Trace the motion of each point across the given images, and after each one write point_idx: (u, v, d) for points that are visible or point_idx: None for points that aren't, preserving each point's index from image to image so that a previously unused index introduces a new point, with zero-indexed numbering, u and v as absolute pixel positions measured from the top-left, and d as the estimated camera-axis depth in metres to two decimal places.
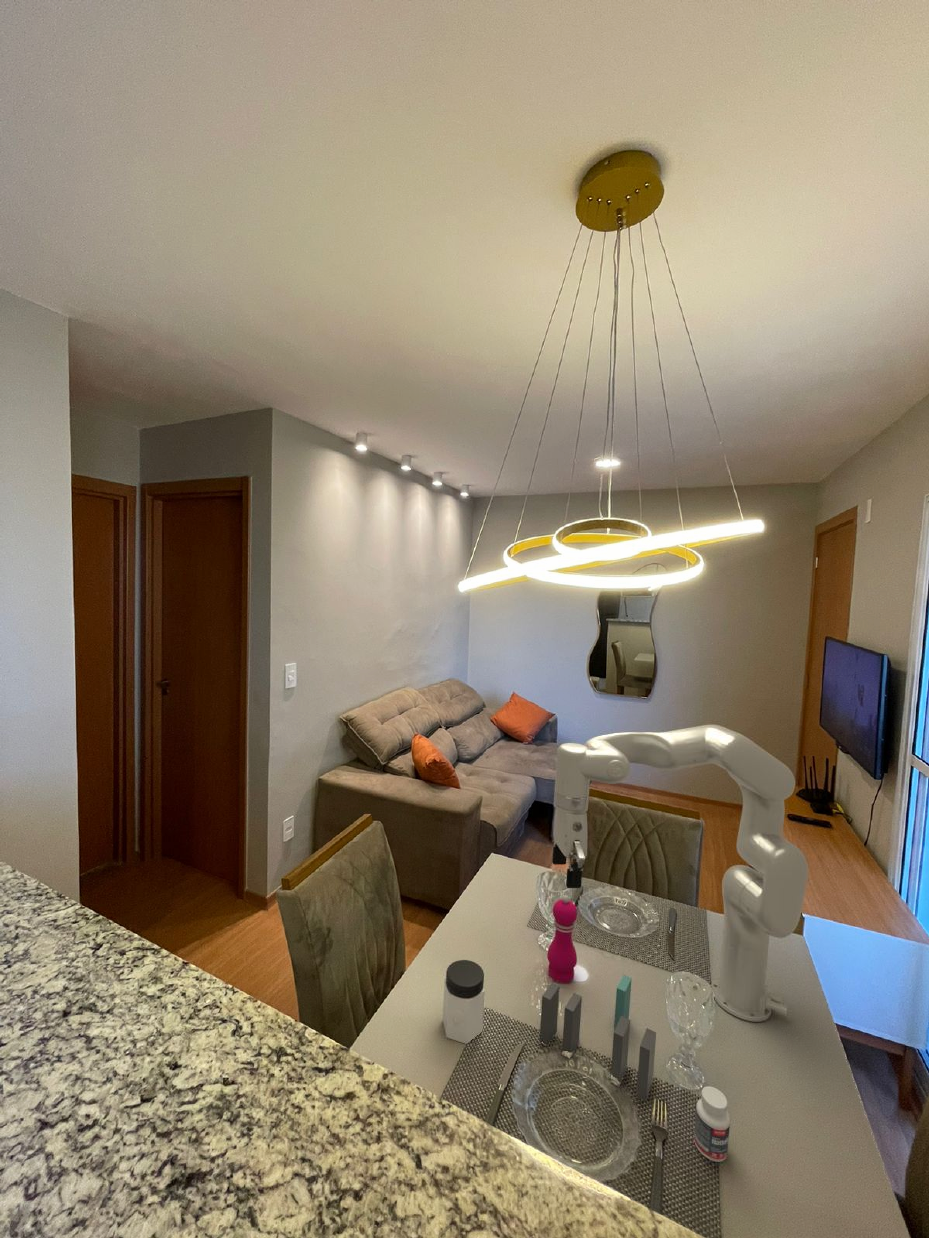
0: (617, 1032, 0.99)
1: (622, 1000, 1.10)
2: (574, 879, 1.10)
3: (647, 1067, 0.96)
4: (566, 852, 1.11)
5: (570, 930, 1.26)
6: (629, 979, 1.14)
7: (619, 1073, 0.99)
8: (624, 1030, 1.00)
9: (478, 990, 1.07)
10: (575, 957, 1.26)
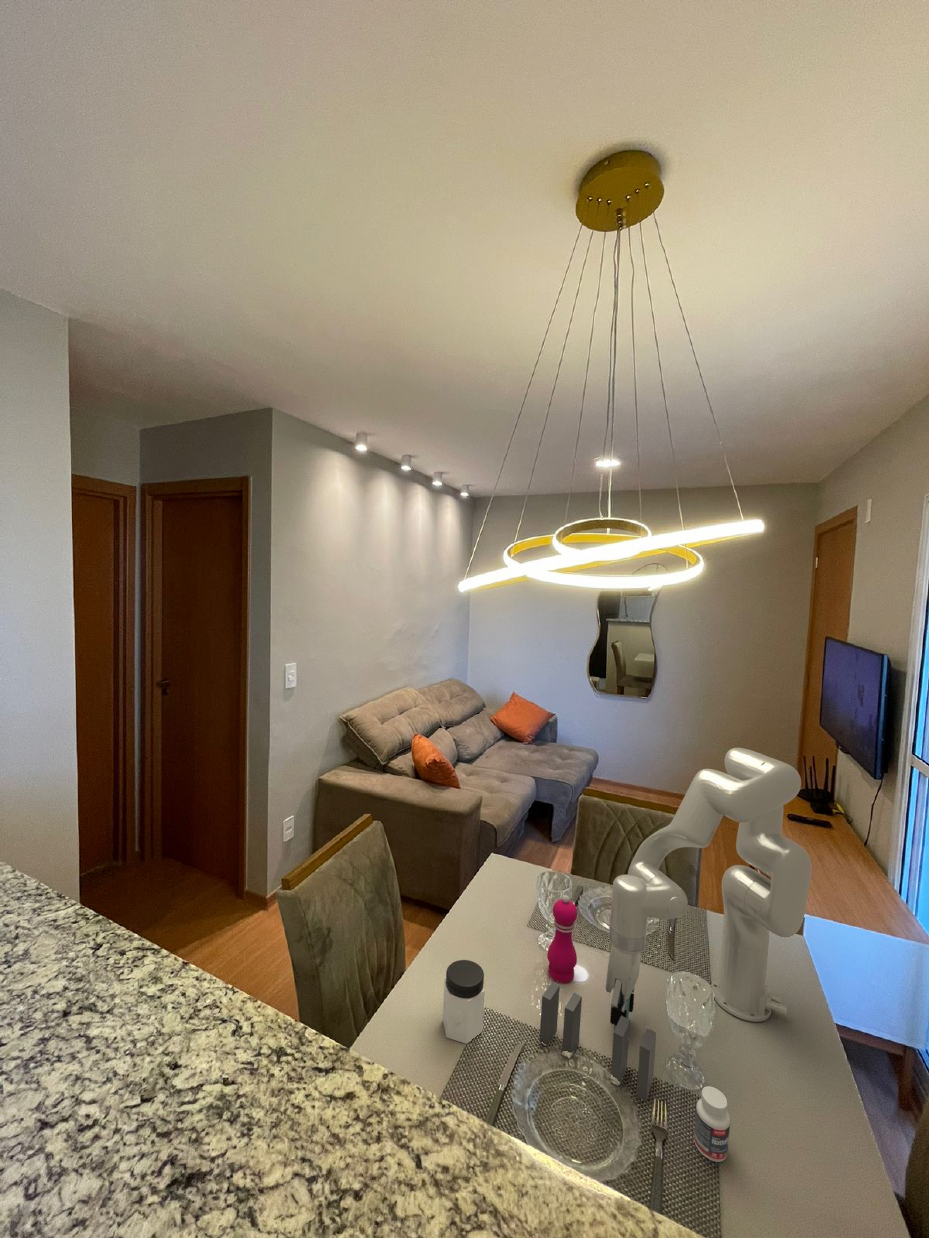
0: (617, 1032, 0.99)
1: (622, 1000, 1.10)
2: None
3: (647, 1067, 0.96)
4: (638, 970, 1.15)
5: (570, 930, 1.26)
6: None
7: (619, 1073, 0.99)
8: (624, 1030, 1.00)
9: (478, 990, 1.07)
10: (575, 957, 1.26)
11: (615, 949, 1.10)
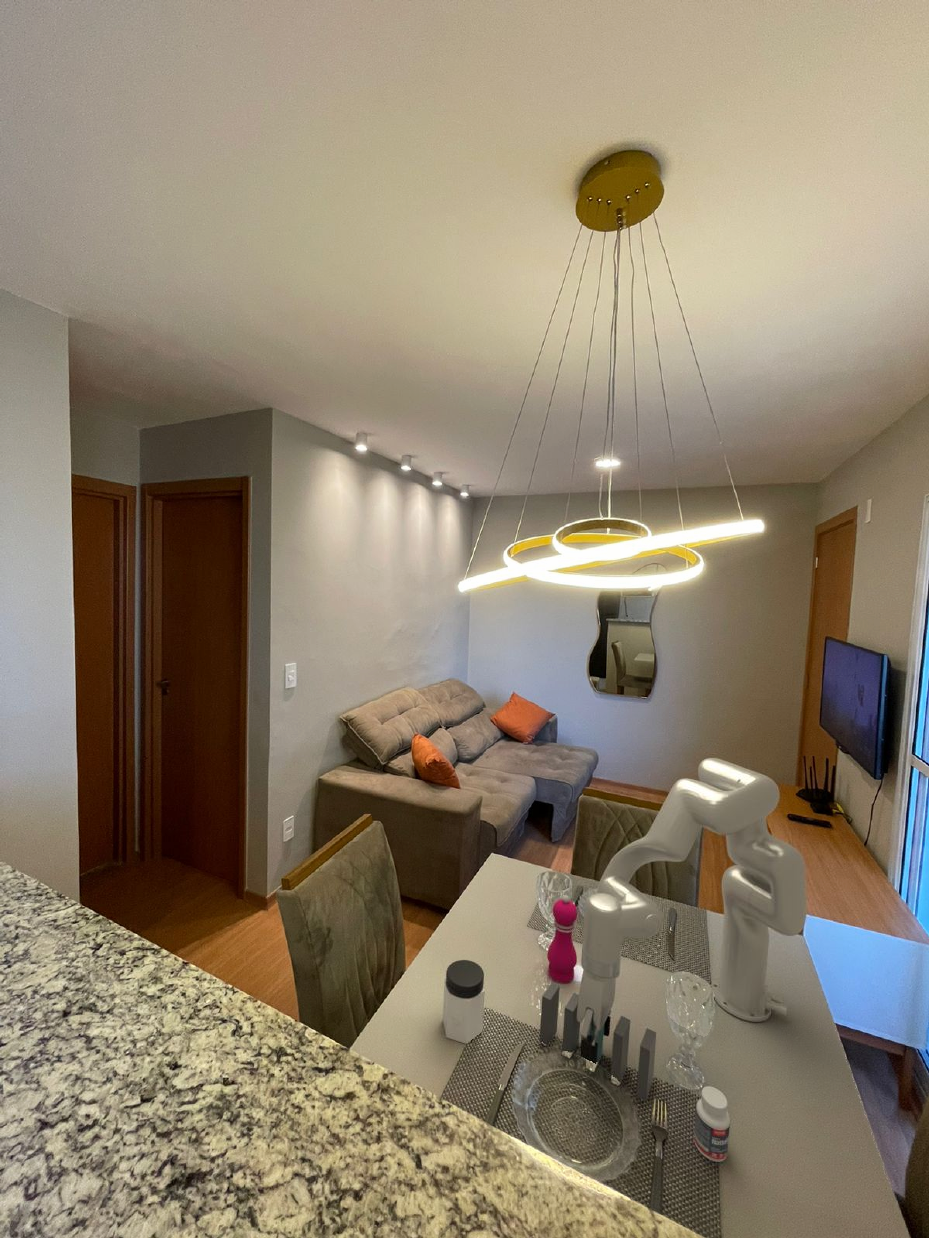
0: (617, 1032, 0.99)
1: None
2: None
3: (647, 1067, 0.96)
4: None
5: (570, 930, 1.26)
6: None
7: (619, 1073, 0.99)
8: (624, 1030, 1.00)
9: (478, 990, 1.07)
10: (575, 957, 1.26)
11: (587, 975, 1.01)
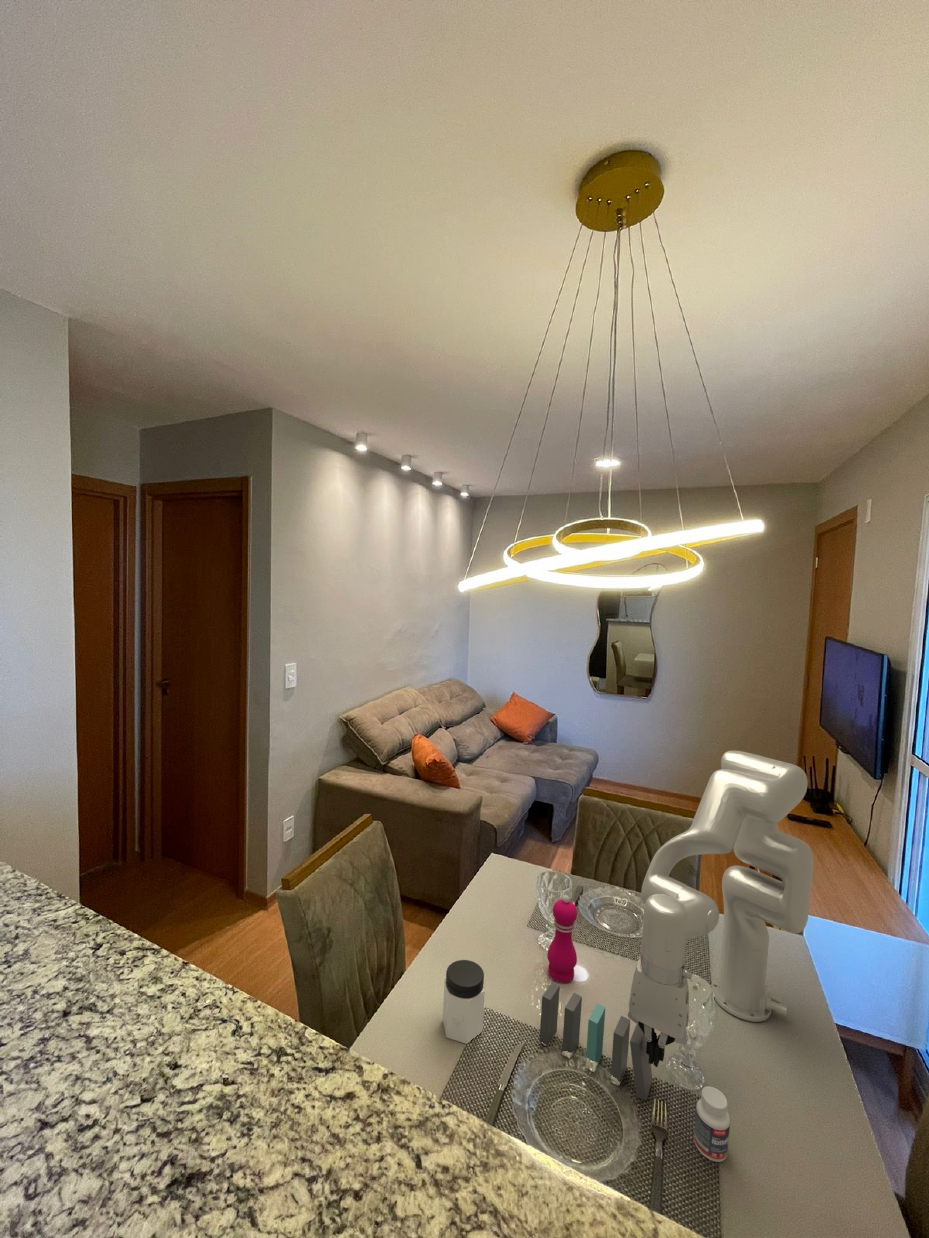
0: (618, 1032, 0.99)
1: (594, 1033, 1.01)
2: (663, 1053, 0.96)
3: (640, 1062, 0.97)
4: (681, 1034, 0.93)
5: (570, 930, 1.26)
6: (602, 1009, 1.05)
7: (619, 1073, 0.99)
8: (624, 1030, 1.00)
9: (478, 990, 1.07)
10: (575, 957, 1.26)
11: (641, 960, 1.00)
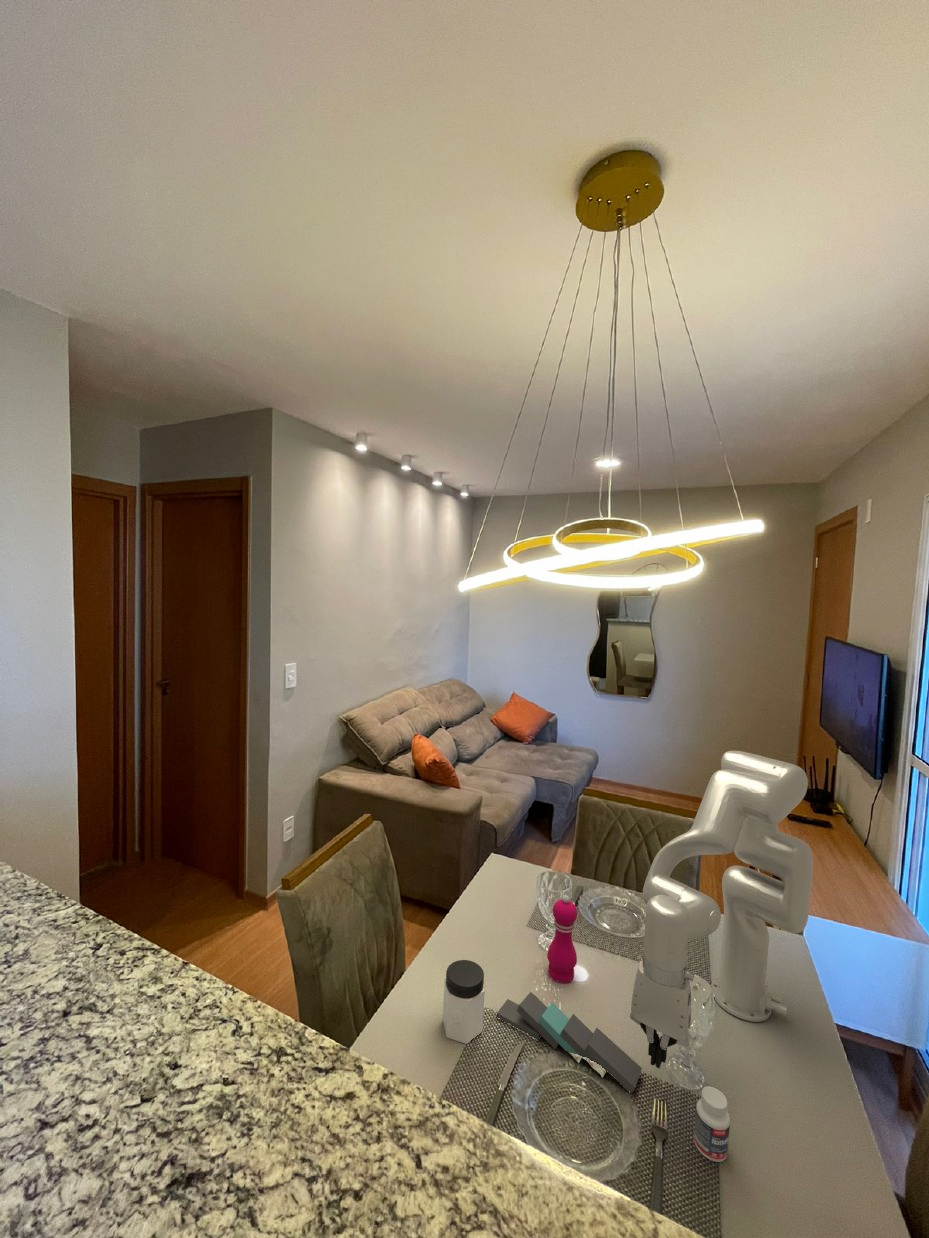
0: (562, 1031, 1.06)
1: (549, 1026, 1.07)
2: (665, 1055, 0.96)
3: (603, 1059, 1.00)
4: (683, 1036, 0.93)
5: (570, 930, 1.26)
6: (550, 1004, 1.12)
7: (594, 1060, 1.01)
8: (566, 1024, 1.07)
9: (478, 990, 1.07)
10: (575, 957, 1.26)
11: (643, 961, 1.00)
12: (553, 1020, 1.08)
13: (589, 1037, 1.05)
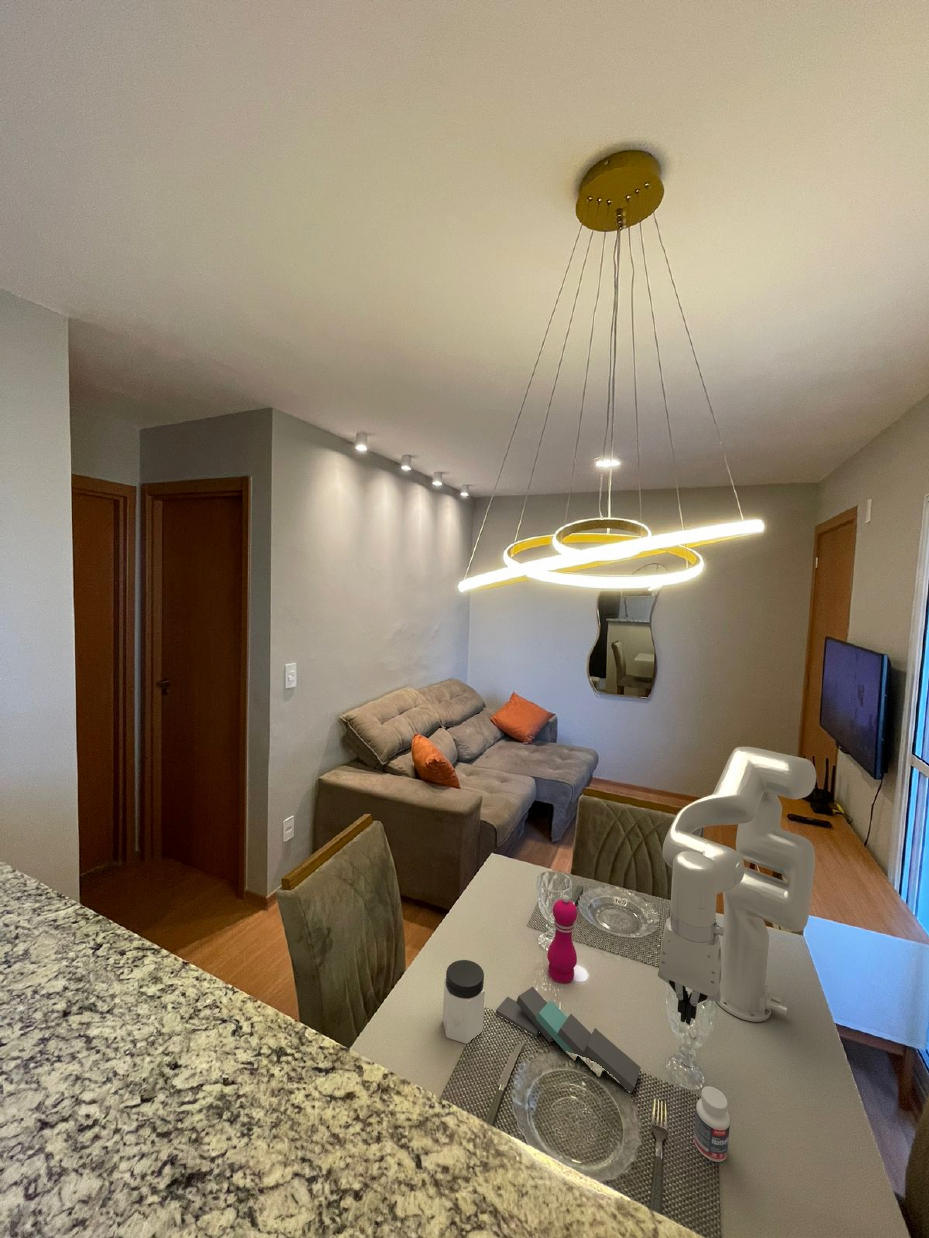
0: (559, 1030, 1.06)
1: (546, 1022, 1.08)
2: (695, 1011, 0.94)
3: (602, 1059, 1.00)
4: (714, 991, 0.91)
5: (570, 930, 1.26)
6: (548, 1002, 1.12)
7: (591, 1060, 1.01)
8: None
9: (478, 990, 1.07)
10: (575, 957, 1.26)
11: (670, 919, 0.97)
12: (550, 1017, 1.09)
13: (586, 1037, 1.06)
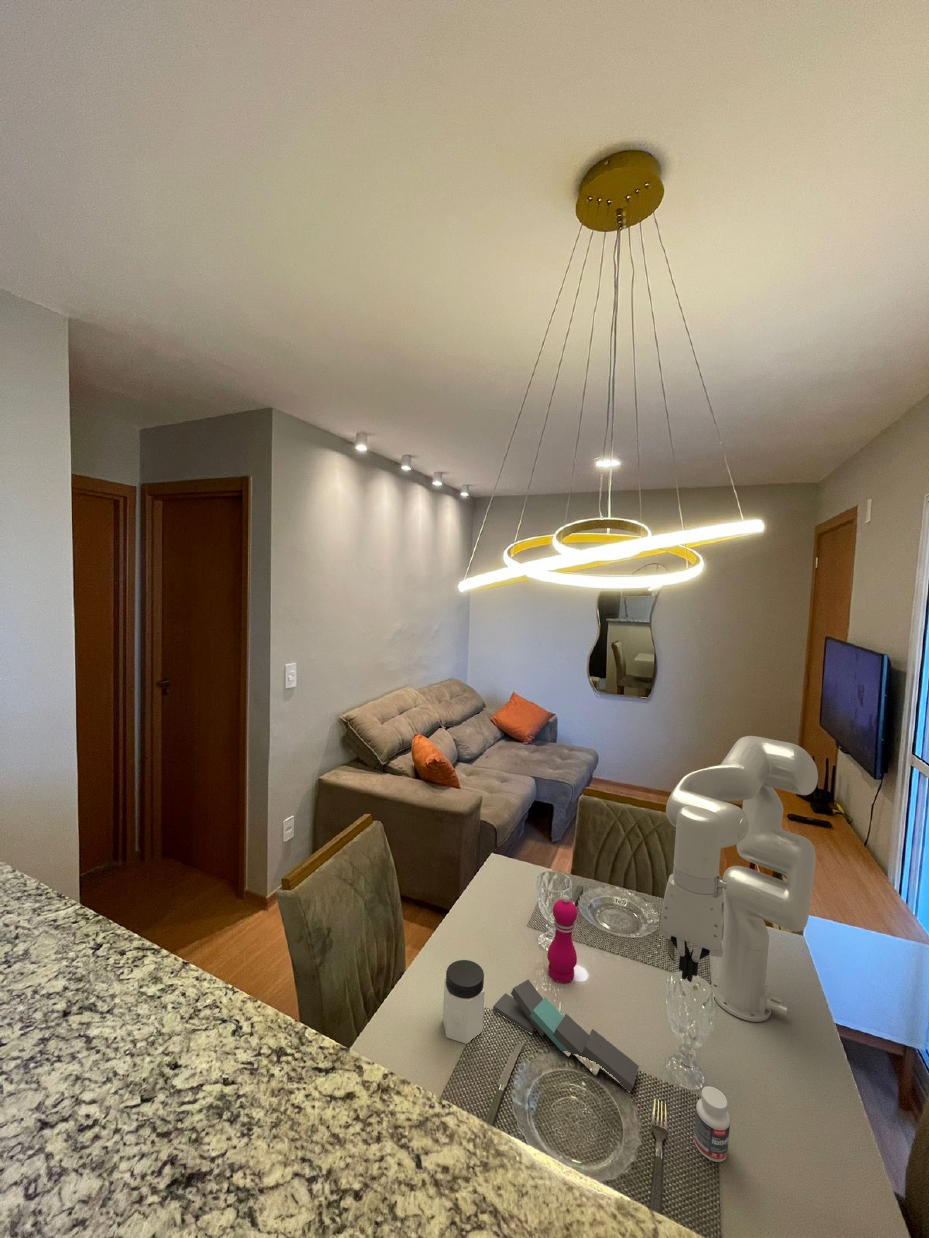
0: (555, 1031, 1.06)
1: (540, 1020, 1.09)
2: (697, 968, 0.93)
3: (600, 1060, 1.00)
4: (717, 945, 0.90)
5: (570, 930, 1.26)
6: (543, 999, 1.13)
7: None
8: (559, 1024, 1.07)
9: (478, 990, 1.07)
10: (575, 957, 1.26)
11: (672, 875, 0.97)
12: (544, 1014, 1.10)
13: (582, 1036, 1.06)
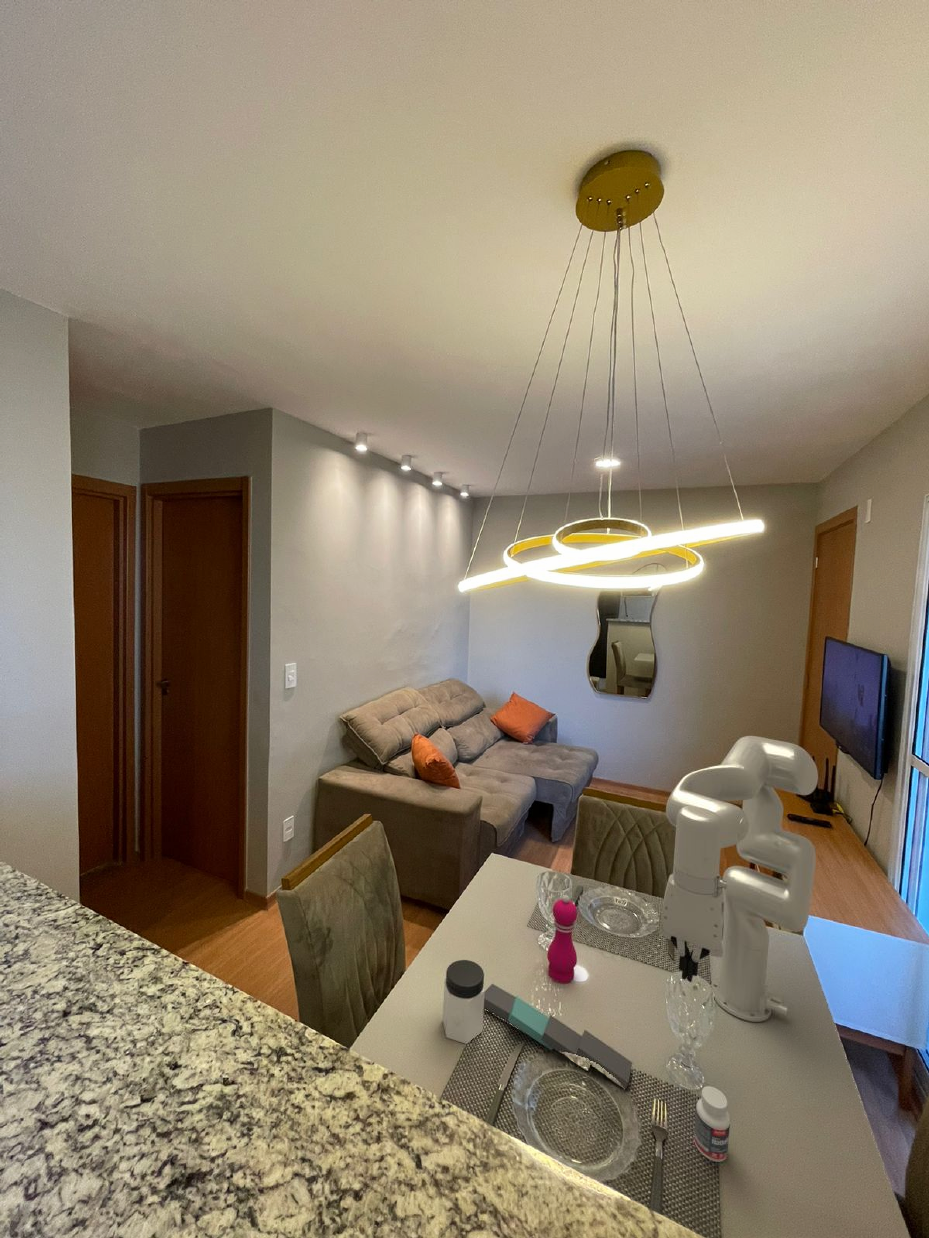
0: None
1: (520, 1022, 1.08)
2: (697, 968, 0.93)
3: (594, 1059, 1.01)
4: (717, 945, 0.90)
5: (570, 930, 1.26)
6: (515, 999, 1.12)
7: None
8: (546, 1026, 1.07)
9: (478, 990, 1.07)
10: (575, 957, 1.26)
11: (672, 875, 0.97)
12: (522, 1015, 1.09)
13: (569, 1034, 1.06)
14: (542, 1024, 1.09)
